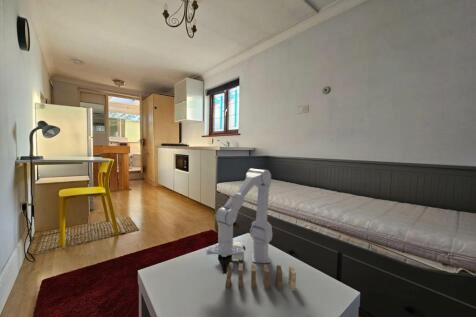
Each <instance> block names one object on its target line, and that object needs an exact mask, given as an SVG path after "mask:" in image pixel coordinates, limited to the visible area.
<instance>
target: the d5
mask: <svg viewBox="0 0 476 317" xmlns="http://www.w3.org/2000/svg"><path fill="white" fill-rule="evenodd" d="M275 272H276V274H275V283H276V284H275V285H276V288H277V291H282V290H283V270H282V266H281V265H279V264H276V271H275Z"/></svg>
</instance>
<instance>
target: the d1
mask: <svg viewBox="0 0 476 317" xmlns="http://www.w3.org/2000/svg"><path fill="white" fill-rule="evenodd" d="M233 269H234V263H233V262H230V263H229V265H228V268H227V274H226V279H225V284H224V285H225V288H226V287H228V288H230V286H231V285H230V284H231V279H232V273H233Z"/></svg>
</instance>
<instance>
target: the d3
mask: <svg viewBox="0 0 476 317" xmlns="http://www.w3.org/2000/svg"><path fill="white" fill-rule="evenodd" d="M256 266H257V265H256V264H255V263H251V268H250V270H251V271H250V272H251V273H250V274H251V275H250V277H251V278H250V289H252V290H253V289H255V290H256V283H257V282H256V279H257V277H256V276H257V270H256Z"/></svg>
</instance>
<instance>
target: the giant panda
mask: <svg viewBox="0 0 476 317" xmlns="http://www.w3.org/2000/svg"><path fill="white" fill-rule="evenodd" d="M214 247H218V243H215V246H214ZM233 247H234V248H239V249H244V252H245V251H246V245H245V244H244V243H242V242H239V241H233ZM244 257H245V255H244V256H241V255H232V259H231V260H237V262H236V264H237V265H239V263H241V264H243V261H244V260H245V258H244Z"/></svg>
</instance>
